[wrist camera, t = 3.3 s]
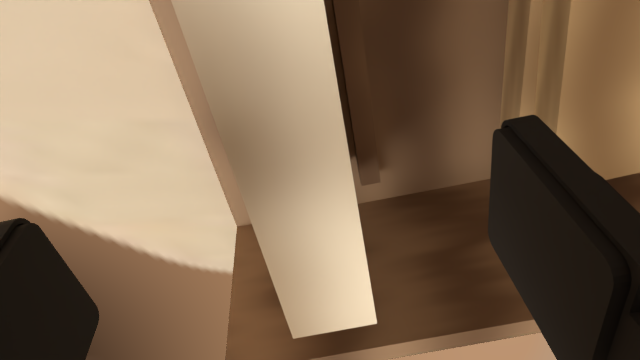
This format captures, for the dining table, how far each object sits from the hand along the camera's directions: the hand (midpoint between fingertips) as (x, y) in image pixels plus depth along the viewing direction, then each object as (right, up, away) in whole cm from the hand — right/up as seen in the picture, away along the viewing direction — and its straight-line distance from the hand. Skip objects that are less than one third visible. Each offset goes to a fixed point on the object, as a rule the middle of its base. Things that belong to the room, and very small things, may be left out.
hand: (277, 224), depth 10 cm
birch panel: (-1, +8, +10) cm, 13 cm away
